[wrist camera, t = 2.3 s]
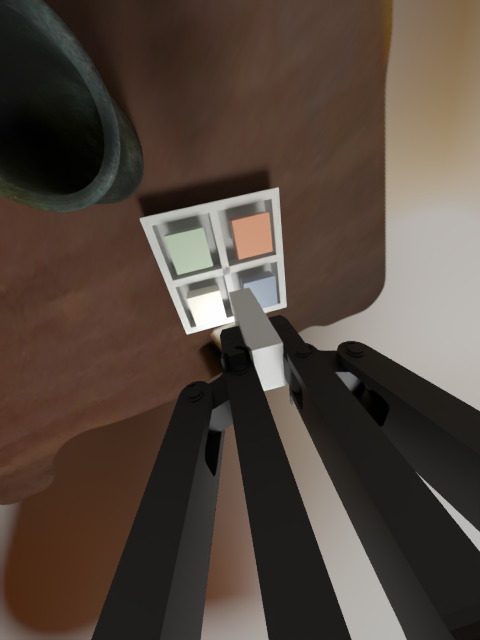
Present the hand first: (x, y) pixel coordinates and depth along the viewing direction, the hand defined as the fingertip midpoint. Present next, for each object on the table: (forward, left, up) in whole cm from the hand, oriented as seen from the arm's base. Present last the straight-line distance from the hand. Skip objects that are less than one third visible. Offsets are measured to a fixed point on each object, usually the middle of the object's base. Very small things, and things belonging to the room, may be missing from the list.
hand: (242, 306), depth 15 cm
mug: (-11, +15, -19) cm, 26 cm away
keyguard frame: (+1, -2, -18) cm, 19 cm away
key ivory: (-3, -6, -16) cm, 17 cm away
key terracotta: (+5, +2, -16) cm, 17 cm away
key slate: (+5, -6, -16) cm, 18 cm away
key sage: (-3, +2, -16) cm, 16 cm away
